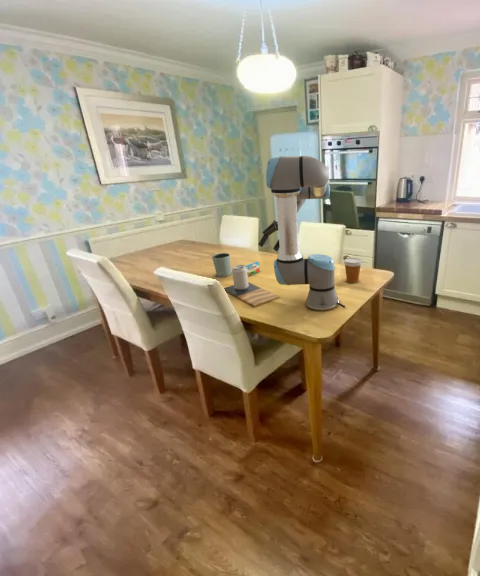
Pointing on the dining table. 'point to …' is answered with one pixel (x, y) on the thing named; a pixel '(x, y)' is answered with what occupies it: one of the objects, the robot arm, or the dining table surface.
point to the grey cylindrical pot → (222, 264)
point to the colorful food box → (252, 268)
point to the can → (240, 277)
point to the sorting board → (252, 294)
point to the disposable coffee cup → (352, 269)
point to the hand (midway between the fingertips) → (267, 247)
